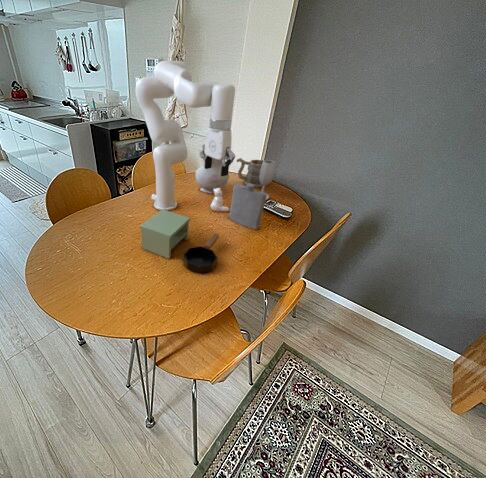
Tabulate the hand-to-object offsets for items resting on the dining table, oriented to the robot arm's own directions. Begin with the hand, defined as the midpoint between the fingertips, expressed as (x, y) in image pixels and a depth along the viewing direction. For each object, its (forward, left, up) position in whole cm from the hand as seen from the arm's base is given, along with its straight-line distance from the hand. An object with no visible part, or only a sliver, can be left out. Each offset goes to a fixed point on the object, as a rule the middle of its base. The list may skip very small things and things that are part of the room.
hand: (215, 171), depth 101 cm
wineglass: (+10, +51, -29) cm, 59 cm away
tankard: (-3, +69, -29) cm, 75 cm away
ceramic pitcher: (-19, +46, -29) cm, 57 cm away
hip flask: (+10, +17, -29) cm, 35 cm away
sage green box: (-13, -17, -29) cm, 36 cm away
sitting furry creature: (-6, +24, -29) cm, 38 cm away
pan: (+5, -17, -29) cm, 34 cm away
